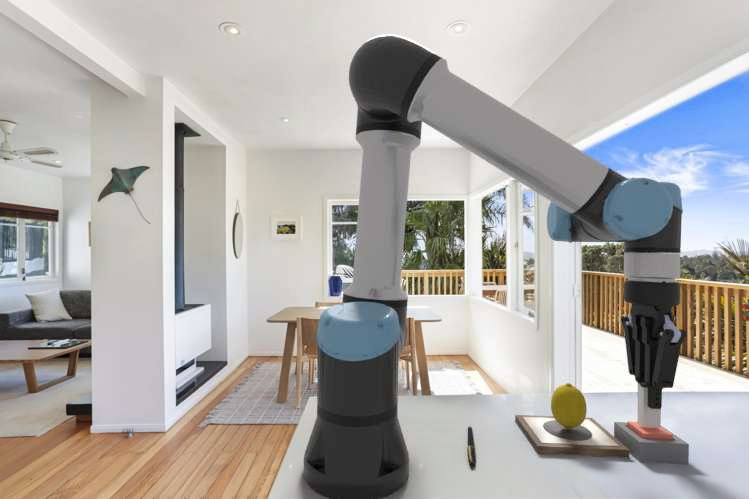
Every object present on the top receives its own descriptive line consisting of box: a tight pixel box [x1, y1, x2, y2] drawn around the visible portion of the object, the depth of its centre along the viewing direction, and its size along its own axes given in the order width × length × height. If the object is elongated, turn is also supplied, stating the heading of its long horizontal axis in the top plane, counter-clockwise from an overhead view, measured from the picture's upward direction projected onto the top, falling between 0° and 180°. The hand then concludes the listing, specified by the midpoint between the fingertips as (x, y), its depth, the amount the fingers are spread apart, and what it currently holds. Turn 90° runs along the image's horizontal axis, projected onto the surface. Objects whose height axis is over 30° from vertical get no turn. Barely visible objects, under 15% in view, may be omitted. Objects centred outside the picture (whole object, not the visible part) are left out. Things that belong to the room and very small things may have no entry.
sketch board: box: [514, 414, 630, 459], centre depth 69 cm, size 14×12×1 cm
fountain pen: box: [466, 424, 476, 468], centre depth 65 cm, size 14×1×2 cm, turn 168°
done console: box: [613, 421, 690, 465], centre depth 65 cm, size 7×7×3 cm
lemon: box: [550, 382, 588, 430], centre depth 69 cm, size 6×6×8 cm
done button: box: [626, 421, 674, 440], centre depth 65 cm, size 4×4×2 cm
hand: (648, 425), depth 65 cm, fingers closed
